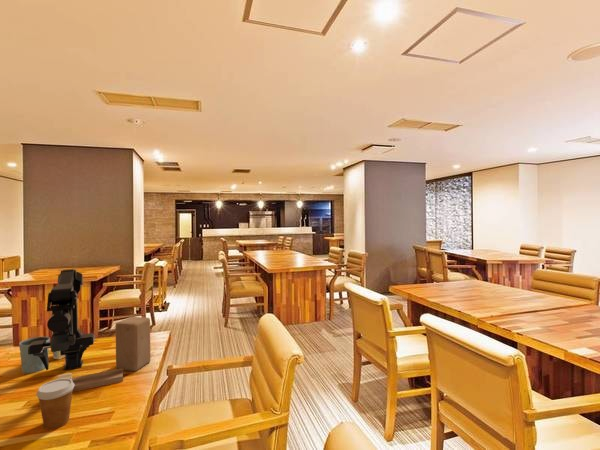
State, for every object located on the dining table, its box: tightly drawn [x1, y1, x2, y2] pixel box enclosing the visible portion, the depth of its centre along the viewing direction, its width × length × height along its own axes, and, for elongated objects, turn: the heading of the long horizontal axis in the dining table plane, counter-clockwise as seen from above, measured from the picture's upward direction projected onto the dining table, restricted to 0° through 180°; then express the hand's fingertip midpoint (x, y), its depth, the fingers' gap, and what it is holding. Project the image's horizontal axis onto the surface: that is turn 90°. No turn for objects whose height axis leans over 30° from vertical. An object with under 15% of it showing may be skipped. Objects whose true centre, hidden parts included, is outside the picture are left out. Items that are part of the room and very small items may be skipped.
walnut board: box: [72, 368, 124, 393], centre depth 127 cm, size 8×23×2 cm, turn 118°
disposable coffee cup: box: [35, 378, 75, 430], centre depth 103 cm, size 10×10×12 cm
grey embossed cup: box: [18, 336, 51, 374], centre depth 140 cm, size 10×10×12 cm
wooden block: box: [115, 316, 152, 372], centre depth 142 cm, size 10×10×20 cm
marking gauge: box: [55, 372, 73, 380], centre depth 121 cm, size 13×4×7 cm, turn 28°
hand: (63, 367), depth 118 cm, fingers open, 9 cm apart
